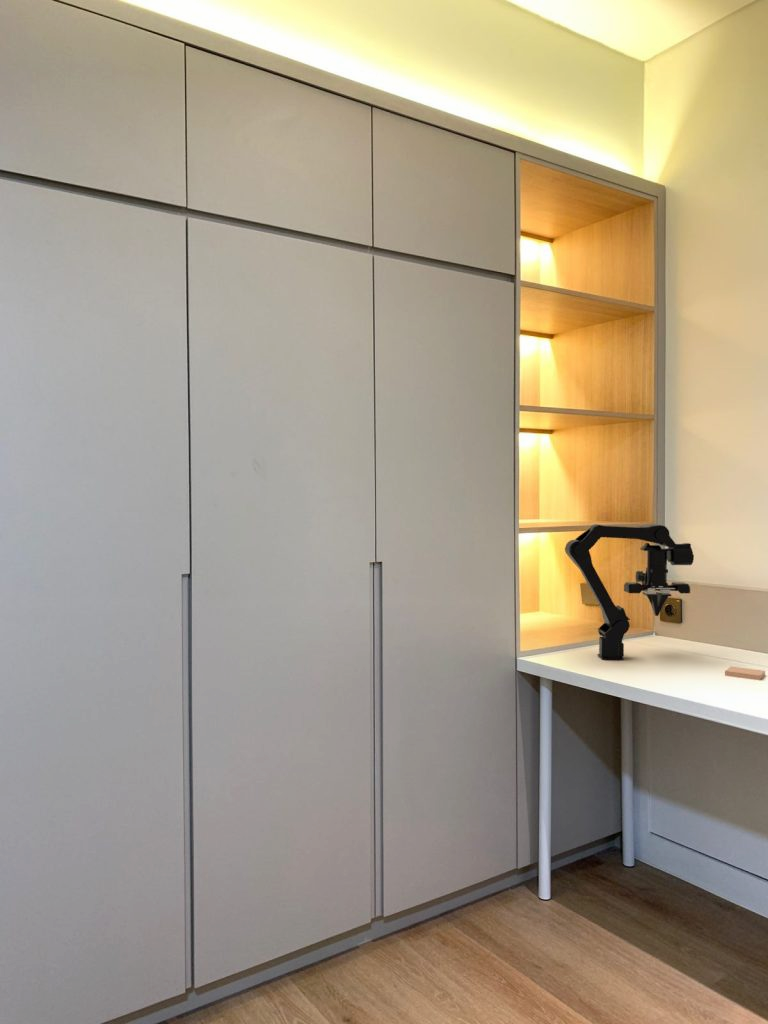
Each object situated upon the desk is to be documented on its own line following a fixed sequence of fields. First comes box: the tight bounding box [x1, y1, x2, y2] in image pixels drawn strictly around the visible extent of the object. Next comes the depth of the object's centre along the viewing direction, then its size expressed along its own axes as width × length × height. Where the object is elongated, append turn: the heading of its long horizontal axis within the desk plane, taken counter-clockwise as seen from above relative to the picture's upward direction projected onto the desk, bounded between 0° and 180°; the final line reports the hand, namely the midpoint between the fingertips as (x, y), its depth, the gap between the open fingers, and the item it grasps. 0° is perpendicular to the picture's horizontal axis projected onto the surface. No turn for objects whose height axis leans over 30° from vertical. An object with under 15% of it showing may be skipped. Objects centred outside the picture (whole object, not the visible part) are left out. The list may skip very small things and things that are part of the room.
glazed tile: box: [724, 665, 766, 681], centre depth 217 cm, size 2×7×9 cm
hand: (656, 615), depth 239 cm, fingers closed
